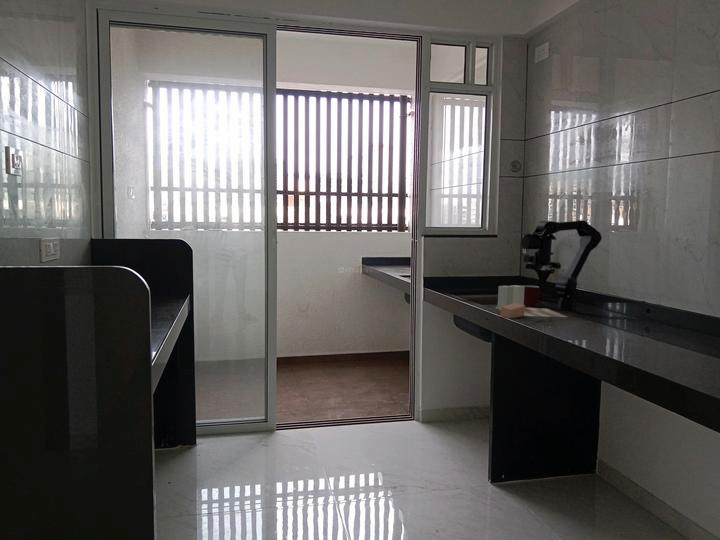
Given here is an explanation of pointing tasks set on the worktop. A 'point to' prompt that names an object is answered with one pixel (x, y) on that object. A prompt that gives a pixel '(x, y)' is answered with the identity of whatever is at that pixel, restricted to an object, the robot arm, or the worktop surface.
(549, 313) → the maple board
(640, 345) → the worktop surface
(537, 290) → the mug
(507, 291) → the sage block
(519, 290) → the cream block
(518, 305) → the terracotta block
